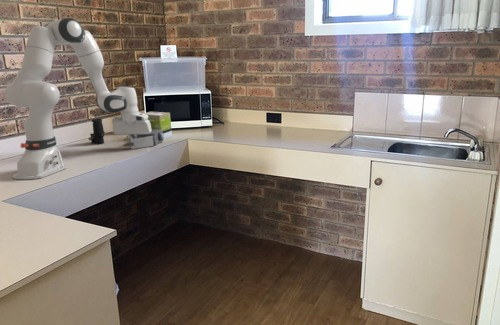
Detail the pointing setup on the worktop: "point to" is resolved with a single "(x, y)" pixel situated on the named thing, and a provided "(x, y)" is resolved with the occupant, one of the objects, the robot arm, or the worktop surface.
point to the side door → (142, 142)
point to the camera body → (155, 132)
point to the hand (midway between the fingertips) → (133, 142)
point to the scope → (97, 132)
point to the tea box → (160, 122)
